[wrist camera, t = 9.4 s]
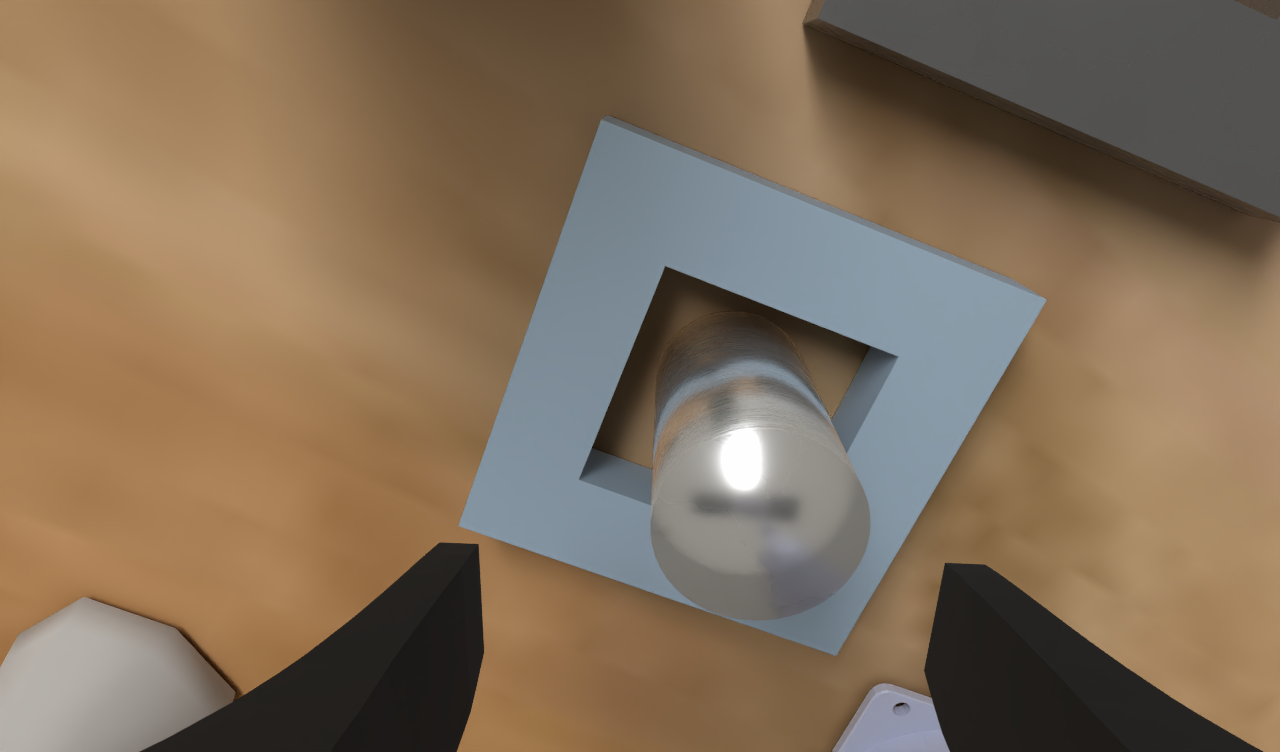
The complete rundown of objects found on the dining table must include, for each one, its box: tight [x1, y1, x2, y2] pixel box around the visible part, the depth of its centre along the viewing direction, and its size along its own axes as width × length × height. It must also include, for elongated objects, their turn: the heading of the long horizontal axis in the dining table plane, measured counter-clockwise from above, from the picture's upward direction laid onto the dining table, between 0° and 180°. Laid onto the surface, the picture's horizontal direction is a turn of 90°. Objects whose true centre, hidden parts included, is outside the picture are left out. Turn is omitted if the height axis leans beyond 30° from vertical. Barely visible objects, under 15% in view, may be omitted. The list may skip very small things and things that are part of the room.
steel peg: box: [650, 311, 870, 621], centre depth 18 cm, size 4×4×8 cm
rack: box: [459, 115, 1046, 656], centre depth 21 cm, size 11×11×2 cm
